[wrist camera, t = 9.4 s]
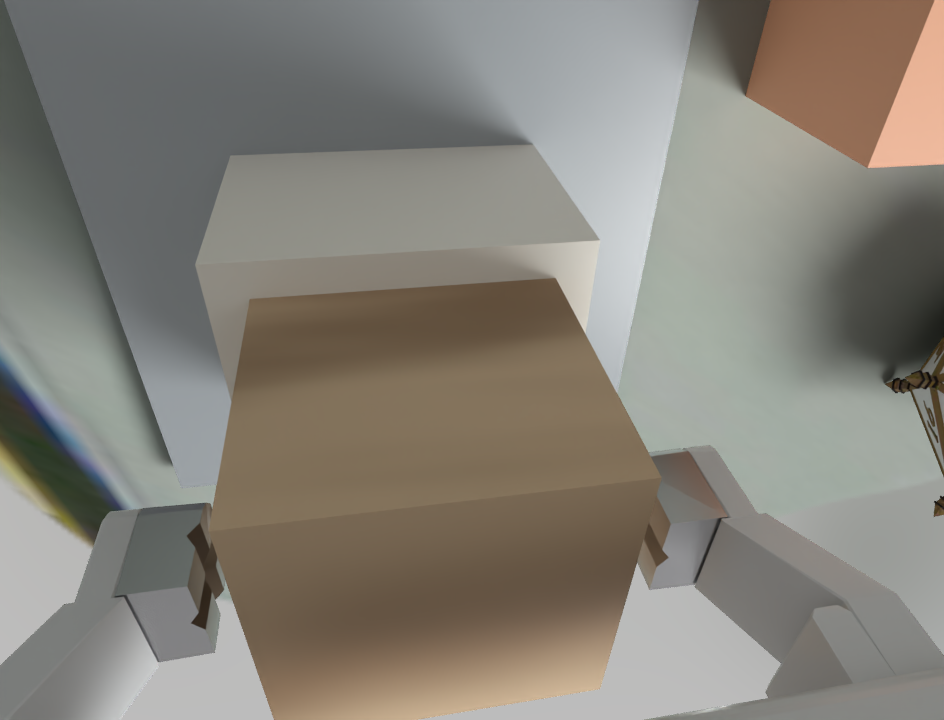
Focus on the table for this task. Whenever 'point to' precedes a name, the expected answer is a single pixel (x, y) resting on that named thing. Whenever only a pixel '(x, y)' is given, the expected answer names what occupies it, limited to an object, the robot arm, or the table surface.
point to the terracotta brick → (857, 76)
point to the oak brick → (427, 501)
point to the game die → (929, 403)
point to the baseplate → (340, 95)
